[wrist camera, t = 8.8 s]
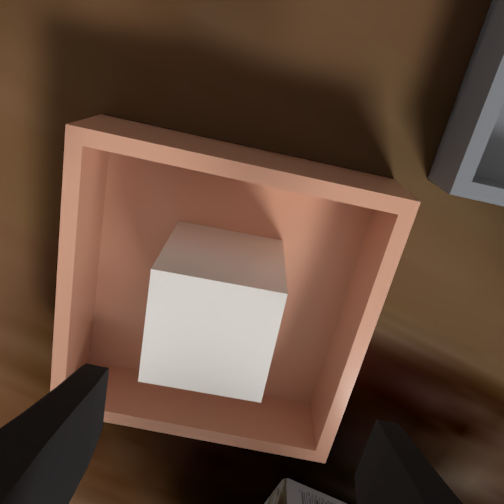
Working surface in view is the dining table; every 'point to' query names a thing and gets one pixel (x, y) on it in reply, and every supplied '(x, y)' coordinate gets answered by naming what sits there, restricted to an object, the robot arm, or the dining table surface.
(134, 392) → the bin
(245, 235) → the white cube
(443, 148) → the tray
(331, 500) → the coffee box
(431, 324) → the dining table surface
